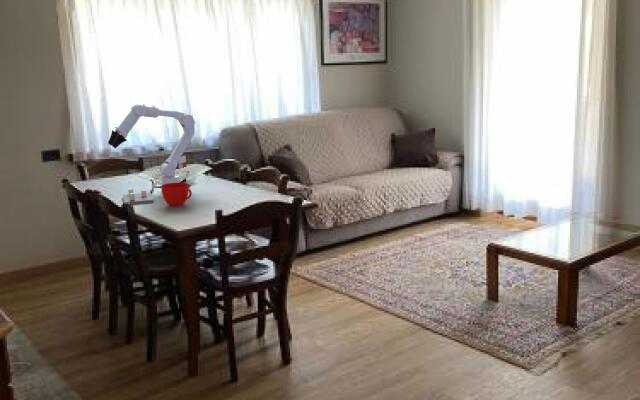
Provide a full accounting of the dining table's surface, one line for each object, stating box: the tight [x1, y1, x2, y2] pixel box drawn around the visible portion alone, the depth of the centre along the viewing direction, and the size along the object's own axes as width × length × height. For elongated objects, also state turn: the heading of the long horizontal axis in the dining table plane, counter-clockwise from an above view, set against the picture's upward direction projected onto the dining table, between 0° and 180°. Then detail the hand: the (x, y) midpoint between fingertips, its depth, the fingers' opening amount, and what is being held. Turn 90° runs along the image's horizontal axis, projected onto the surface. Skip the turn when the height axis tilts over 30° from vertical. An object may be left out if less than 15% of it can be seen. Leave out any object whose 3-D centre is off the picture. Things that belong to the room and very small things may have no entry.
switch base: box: [122, 192, 155, 206], centre depth 309 cm, size 14×19×2 cm
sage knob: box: [128, 192, 136, 200], centre depth 301 cm, size 2×2×3 cm
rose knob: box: [140, 189, 147, 197], centre depth 309 cm, size 2×2×3 cm
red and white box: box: [176, 154, 188, 169], centre depth 355 cm, size 11×4×15 cm, turn 168°
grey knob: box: [127, 188, 135, 194], centre depth 312 cm, size 2×2×3 cm
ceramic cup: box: [160, 182, 192, 208], centre depth 294 cm, size 13×17×10 cm
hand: (111, 145), depth 308 cm, fingers open, 7 cm apart
